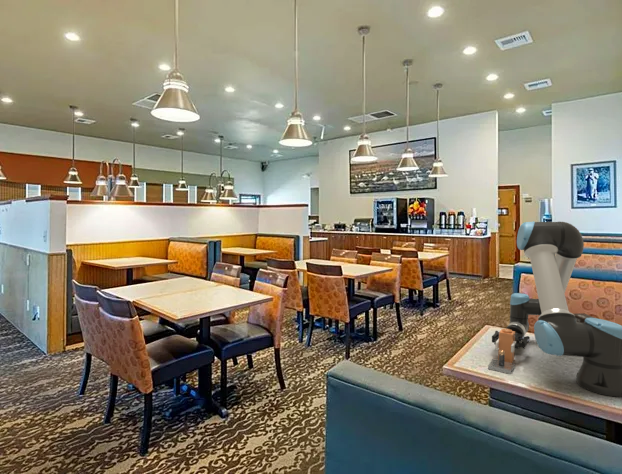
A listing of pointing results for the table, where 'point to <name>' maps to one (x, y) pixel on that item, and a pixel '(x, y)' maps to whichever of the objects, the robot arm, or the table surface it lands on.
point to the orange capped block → (506, 343)
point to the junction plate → (502, 368)
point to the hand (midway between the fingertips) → (504, 347)
